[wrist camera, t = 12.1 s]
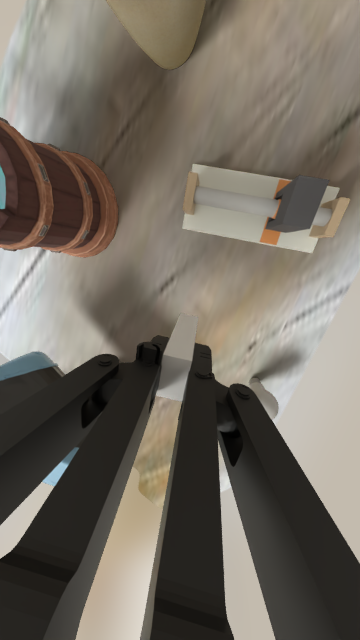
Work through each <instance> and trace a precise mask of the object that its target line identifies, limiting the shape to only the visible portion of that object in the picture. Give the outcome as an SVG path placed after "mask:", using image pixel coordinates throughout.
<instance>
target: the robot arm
mask: <svg viewBox="0 0 360 640" xmlns="http://www.w3.org/2000/svg"><path fill="white" fill-rule="evenodd" d="M197 323H198V317H197V316H193V315H188V314H183V313H180V315H179V318H178V320H177V323H176V325H175V327H174V330H173V332H172V334H171V337H170V338H168V337H163V336H159V335H158V336H156V337H154V338H153V339H152V341H151V342H143V343H140V344H139V345H137V353H136V360H135V361H134V362H132V363H119V359H118V357H116V356H114V355H111V354H101V355H98V356H95V357H94V358H92V359H90V360H89V361H87V362H85V363H84V364H82V365H81V366H79V367H77V368H76V369H74V370H72V371H71V372H69V373H68V374H66V375H65V374H64V373H63V372H62V371H61V369H60V368H59V367H58V365H57V364H56V363H54V362H53V361H52V360H51V359H50V358H49V357H48V356H47V355H46V354H44V353H42V352H31V353H28V354H25V355H23V356H20V357H18V358H16V359H13V360H11V361H9V362H7V363H5V364H3V365H1V366H0V525H1V524H2V523H3V522H4V521H5V520H6V519H7V518H8V517H9V515H10V514H11V513H12V512H13V511H14V510H15V509H16V508H17V507H18V506H19V505H20V504H21V503H22V502H23V501H24V500H25V499H26V498H27V497H28V496H29V495H30V494H31V493H32V492H33V491H34V489H35V488H36V487H37V486H38V485H39V484H40V483H41V482H44V483H46V484H49V485H52V486H55V487H54V488H53V490H52V491H51V493H50V495H49V496H48V498H47V499H46V501H45V502H44V504H43V505H42V507H41V509H40V510H39V512H38V513H37V515H36V516H35V518H34V520H33V521H32V523H31V524H30V526H29V527H28V529H27V531H26V532H25V534H24V535H23V537H22V538H21V540H20V541H19V543H18V544H17V545H16V546H15V548H13V550H12V551H11V552H9V553H8V554H6V555H5V556H4V557H2V558H1V559H0V640H75V639H76V635H77V631H78V627H79V623H80V619H81V616H82V613H83V609H84V606H85V603H86V600H87V597H88V595H89V592H90V589H91V586H92V583H93V580H94V577H95V574H96V571H97V568H98V565H99V562H100V560H101V556H102V554H103V551H104V548H105V545H106V542H107V539H108V536H109V533H110V530H111V527H112V525H113V522H114V519H115V515H116V513H117V510H118V507H119V504H120V501H121V498H122V495H123V492H124V490H125V486H126V484H127V481H128V478H129V475H130V472H131V469H132V466H133V463H134V460H135V457H136V455H137V452H138V449H139V446H140V443H141V440H142V437H143V434H144V431H145V428H146V425H147V422H148V419H149V417H150V414H151V411H152V408H153V405H154V401H155V395H156V396H160V397H164V398H168V399H172V400H177V401H181V402H182V405H181V409H180V413H179V418H178V420H179V421H178V426H177V432H176V438H175V443H174V449H173V455H172V461H171V466H170V472H169V478H168V484H167V489H166V495H165V501H164V506H163V512H162V518H161V524H160V529H159V535H158V541H157V547H156V552H155V558H154V564H153V569H152V575H151V581H150V586H149V592H148V598H147V604H146V609H145V616H144V621H143V627H142V632H141V637H140V640H234V637H233V634H232V631H231V628H230V625H229V623H228V620H227V614H226V606H225V591H224V569H223V546H222V524H221V504H220V480H219V458H218V441H219V444H220V448H221V451H222V455H223V458H224V462H225V465H226V469H227V472H228V476H229V479H230V483H231V486H232V490H233V493H234V497H235V500H236V504H237V507H238V510H239V514H240V517H241V521H242V524H243V528H244V531H245V535H246V538H247V542H248V545H249V549H250V552H251V556H252V559H253V563H254V566H255V570H256V573H257V577H258V580H259V583H260V587H261V590H262V594H263V597H264V601H265V604H266V608H267V611H268V615H269V618H270V622H271V625H272V629H273V632H274V636H275V639H276V640H360V563H359V562H358V560H357V558H356V557H355V555H354V554H353V552H352V551H351V549H350V547H349V546H348V544H347V542H346V541H345V539H344V537H343V536H342V534H341V532H340V531H339V529H338V528H337V526H336V524H335V523H334V521H333V519H332V518H331V516H330V514H329V513H328V511H327V510H326V508H325V506H324V505H323V503H322V501H321V500H320V498H319V497H318V495H317V493H316V492H315V490H314V488H313V487H312V485H311V483H310V482H309V480H308V479H307V477H306V475H305V474H304V472H303V470H302V469H301V467H300V465H299V464H298V462H297V461H296V459H295V457H294V456H293V454H292V452H291V451H290V449H289V447H288V446H287V444H286V443H285V441H284V439H283V438H282V436H281V434H280V433H279V431H278V429H277V428H276V426H275V425H274V423H273V421H272V420H271V418H270V416H269V415H268V413H267V412H266V410H265V408H264V407H263V405H262V403H261V402H260V400H259V398H258V397H257V395H256V394H255V393H254V391H253V390H252V389H250V388H249V387H247V386H245V385H243V384H238V383H237V384H232V385H230V387H229V388H228V387H226V386H224V385H222V384H220V383H219V382H217V381H216V380H215V377H214V374H213V373H212V357H211V349H210V348H209V346H206V345H202V344H197V343H195V337H196V330H197ZM156 393H157V394H156Z"/></svg>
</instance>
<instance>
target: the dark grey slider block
mask: <svg viewBox="0 0 360 640" xmlns="http://www.w3.org/2000/svg"><path fill="white" fill-rule="evenodd" d="M329 181H330V180H326V179H320V178H314V177H308V176H302V175H299V176H297V177H296V178H295V179H294V180H292V181H291V182H290V183H289V184H287V185H286V186H285V187H284V188H282V189H281V190H280V191H278V192H277V194H276V197H275V199H276V200H278V199H281V202H280V205H279V208H278V211H277V214H276V217H275V219H273V218H271V217H269V219H268V222H267V225H266V228H265V229H268V230H273V231H278V232H284V233H289V232H295V231H301V230H307V229H310V228H311V225H312V223H313V220H314V218H315V215H316V213H317V210H318V208H319V205H320V203H321V200H322V198H323V195H324V193H325V191H326V188H327V186H328V183H329Z"/></svg>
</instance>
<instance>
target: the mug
mask: <svg viewBox="0 0 360 640" xmlns="http://www.w3.org/2000/svg"><path fill="white" fill-rule="evenodd" d="M117 225H118V205H117V201H116V197H115V193H114V190H113V188H112V186H111V184H110V182H109V181H108V179H107V177H106V175H105V173H104V172H103V171H102V170H101V169H100V168H99V167H98V166H97V165H96V164H95V163H94V162H93V161H91V160H89V159H87V158H85V157H83V156H81V155H79V154H77V153H70V152H68V151H61V150H60V149H59V148H57V147H55V146H53V145H51V144H47V145H46V144H42V143H33V142H31V141H29V140H27V139H25V138H24V137H23V136H22V135H21V134H20V133H19V132H18V131H17V130H16V129H15V128H14V127H12V126H10V124H9V123H8V121H7V120H5V119H3V118H1V117H0V247H1V248H3V249H4V250H9V251H16V250H18V249H19V250H21V249H25V248H29V247H33V246H34V247H41V248H43V249H46V250H50V251H51V252H56V253H60V252H63V253H67V254H69V255H72V256H78V257H89V256H94V255H97V254H98V253H100V252H101V251H103V250H104V249H106V248H107V246H108V245H109V244H110V242H111V241H112V239H113V238H114V235H115V231H116V228H117Z"/></svg>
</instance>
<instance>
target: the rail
mask: <svg viewBox="0 0 360 640" xmlns="http://www.w3.org/2000/svg"><path fill="white" fill-rule="evenodd" d="M291 181H292V180H289V179H283V178H277V177H271V176H264V175H258V174H252V173H246V172H240V171H234V170H228V169H222V168H216V167H210V166H204V165H198V164H193V166H192V172H189V173H188V179H187V185H186V191H185V197H184V204H183V210H184V212H185V214H184V220H183V227H182V229H186V230H192V231H197V232H202V233H207V234H213V235H218V236H223V237H228V238H234V239H239V240H244V241H249V242H255V243H260V244H265V245H270V246H275V247H281V248H286V249H291V250H296V251H302V252H307V253H313V250H314V248H315V245H316V243H317V241H318V238H324V237H334V234H335V232H336V230H337V228H338V226H339V223H340V221H341V219H342V217H343V215H344V212H345V210H346V208H347V206H348V203H349V201H350V199H349V198H343V197H339V198H337V199H336V196H337V194H338V192H339V189H340V188H337V187H331V186H327V188H326V191H325V193H324V195H323V198H322V200H321V203H320V205H319V208H318V210H317V213H316V215H315V218H314V220H313V223H312V225H311V228H310V229H307V230H301V231H295V232H289V233H284V232H278V231H273V230H268V229H265V228H266V225H267V222H268V219H269V217H271V218H273V219H275V217H276V214H277V211H278V208H279V205H280V202H281V199H278V200H276V199H275V197H276V194H277V192H278V191H280V190H281V189H282V188H284V187H285V186H286V185H287V184H289V183H290V182H291Z"/></svg>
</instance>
